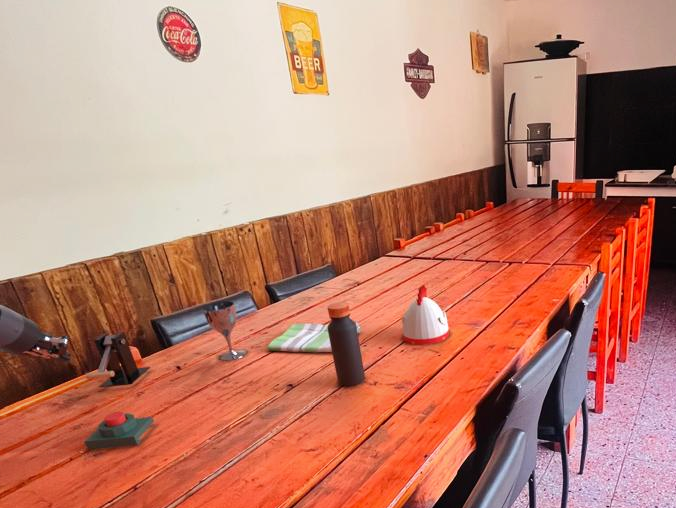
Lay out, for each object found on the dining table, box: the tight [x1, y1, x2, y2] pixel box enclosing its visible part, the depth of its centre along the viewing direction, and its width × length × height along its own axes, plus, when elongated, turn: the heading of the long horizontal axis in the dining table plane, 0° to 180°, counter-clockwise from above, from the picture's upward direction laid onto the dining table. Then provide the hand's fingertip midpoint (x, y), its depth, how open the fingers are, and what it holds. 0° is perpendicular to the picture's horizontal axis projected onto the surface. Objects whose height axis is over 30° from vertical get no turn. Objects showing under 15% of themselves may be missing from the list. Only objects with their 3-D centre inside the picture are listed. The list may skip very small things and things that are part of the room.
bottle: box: [327, 301, 366, 387], centre depth 124 cm, size 7×7×20 cm
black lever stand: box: [93, 331, 150, 388], centre depth 133 cm, size 10×8×13 cm
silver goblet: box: [202, 300, 247, 361], centre depth 144 cm, size 8×8×15 cm
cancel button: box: [103, 411, 126, 427], centre depth 108 cm, size 4×4×2 cm
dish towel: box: [266, 321, 362, 353], centre depth 153 cm, size 17×23×4 cm
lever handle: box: [85, 334, 116, 380], centre depth 129 cm, size 12×6×2 cm
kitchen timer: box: [401, 284, 450, 346], centre depth 150 cm, size 14×14×15 cm
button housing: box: [83, 413, 155, 451], centre depth 109 cm, size 10×8×4 cm
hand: (66, 358), depth 115 cm, fingers closed
